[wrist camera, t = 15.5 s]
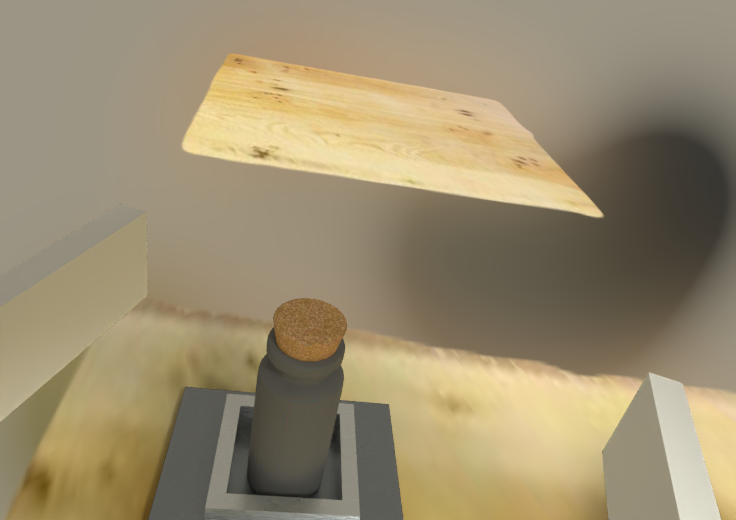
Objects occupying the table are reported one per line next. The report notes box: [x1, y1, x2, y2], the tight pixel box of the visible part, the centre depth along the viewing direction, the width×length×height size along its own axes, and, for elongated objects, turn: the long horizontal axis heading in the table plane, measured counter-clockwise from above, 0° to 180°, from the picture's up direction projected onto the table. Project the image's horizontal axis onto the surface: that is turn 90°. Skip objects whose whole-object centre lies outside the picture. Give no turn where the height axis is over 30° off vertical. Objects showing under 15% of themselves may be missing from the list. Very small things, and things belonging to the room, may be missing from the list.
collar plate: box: [148, 387, 403, 520], centre depth 44 cm, size 18×16×4 cm
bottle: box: [247, 298, 347, 498], centre depth 41 cm, size 6×6×15 cm
